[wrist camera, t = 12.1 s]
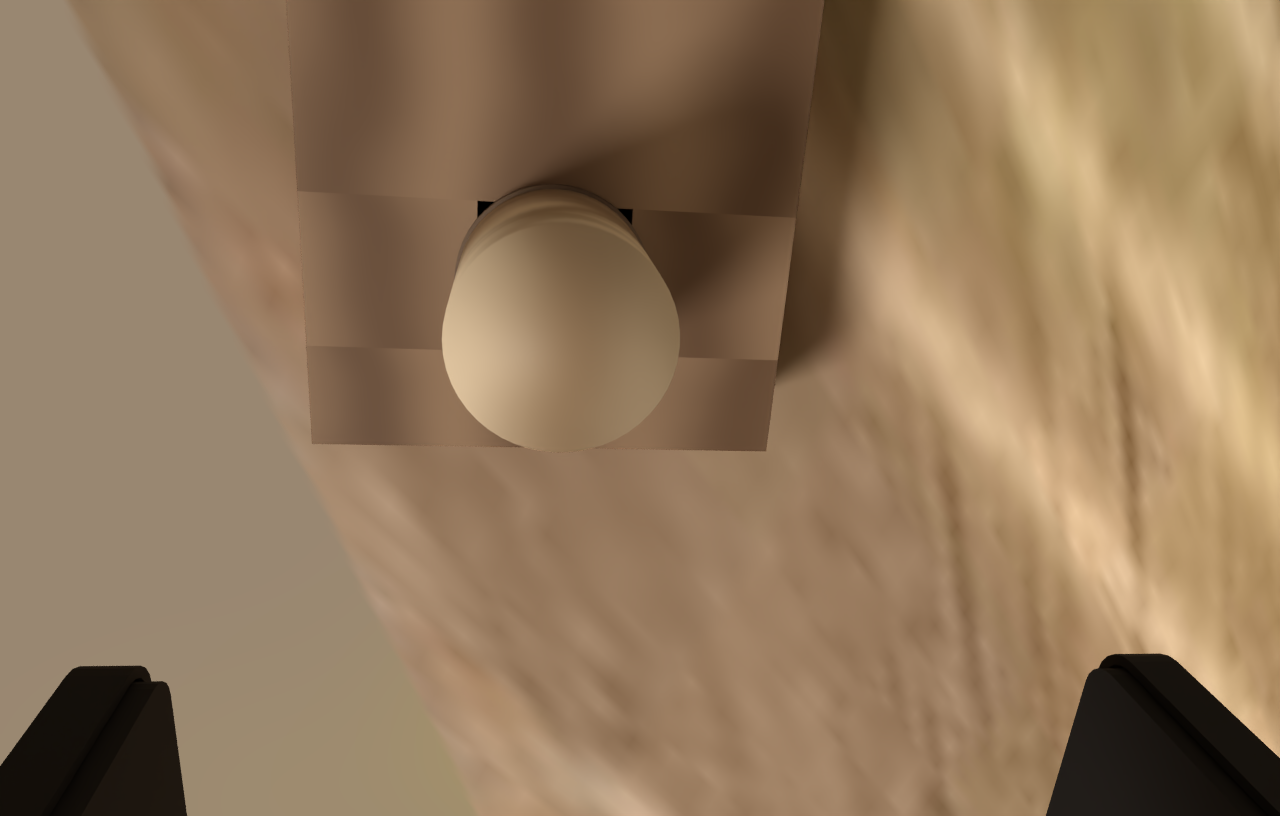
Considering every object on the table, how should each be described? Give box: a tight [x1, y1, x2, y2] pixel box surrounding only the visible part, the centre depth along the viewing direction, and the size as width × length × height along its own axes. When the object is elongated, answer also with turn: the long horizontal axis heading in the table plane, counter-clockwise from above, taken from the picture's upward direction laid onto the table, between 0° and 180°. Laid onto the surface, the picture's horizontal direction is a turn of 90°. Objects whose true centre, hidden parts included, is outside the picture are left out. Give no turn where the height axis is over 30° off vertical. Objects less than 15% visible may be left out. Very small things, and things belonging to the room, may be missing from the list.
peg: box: [442, 184, 680, 453], centre depth 29 cm, size 6×6×11 cm
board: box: [286, 0, 824, 451], centre depth 31 cm, size 16×20×5 cm
